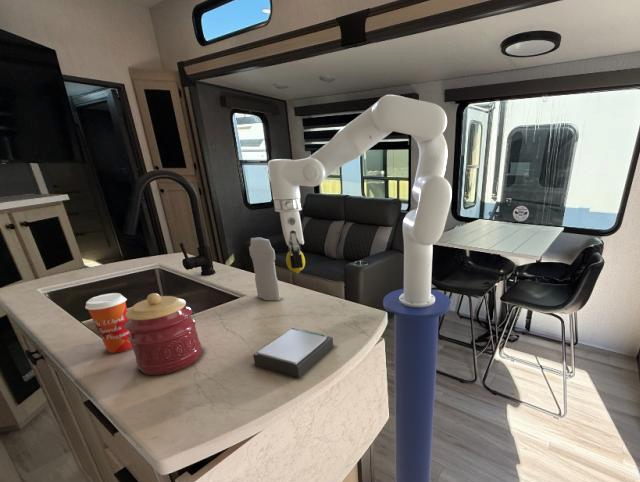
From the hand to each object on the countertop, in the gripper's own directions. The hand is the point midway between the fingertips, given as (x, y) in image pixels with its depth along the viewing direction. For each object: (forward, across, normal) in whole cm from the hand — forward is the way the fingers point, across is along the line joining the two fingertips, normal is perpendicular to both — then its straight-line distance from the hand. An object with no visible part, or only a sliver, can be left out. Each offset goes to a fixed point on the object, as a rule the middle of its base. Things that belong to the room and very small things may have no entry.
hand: (296, 264), depth 98 cm
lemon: (+3, 0, 0) cm, 3 cm away
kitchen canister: (+16, -16, +33) cm, 40 cm away
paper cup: (+15, -4, +46) cm, 49 cm away
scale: (+16, -26, +5) cm, 31 cm away
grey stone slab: (+16, +16, +10) cm, 25 cm away
